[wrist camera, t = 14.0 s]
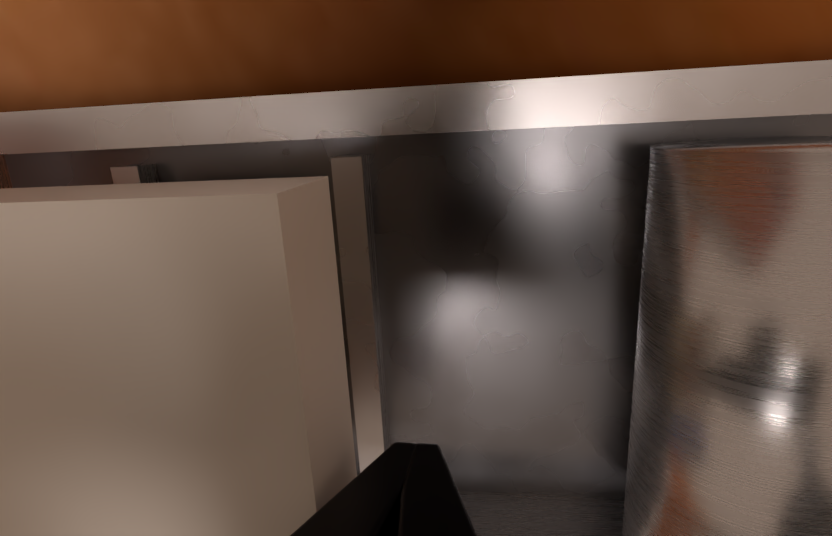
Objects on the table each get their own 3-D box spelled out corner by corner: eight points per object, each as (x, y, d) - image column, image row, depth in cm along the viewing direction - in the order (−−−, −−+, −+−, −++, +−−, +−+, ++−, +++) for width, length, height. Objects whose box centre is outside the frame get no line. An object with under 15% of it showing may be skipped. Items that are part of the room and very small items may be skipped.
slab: (327, 176, 8) (276, 194, 6) (374, 659, 11) (349, 776, 9) (-197, 195, 9) (-372, 215, 7) (-37, 616, 12) (-136, 709, 10)
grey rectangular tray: (998, 58, 12) (2083, -74, 4) (885, 517, 15) (1324, 955, 7) (-32, 121, 16) (-569, 122, 8) (66, 473, 19) (-234, 723, 11)
